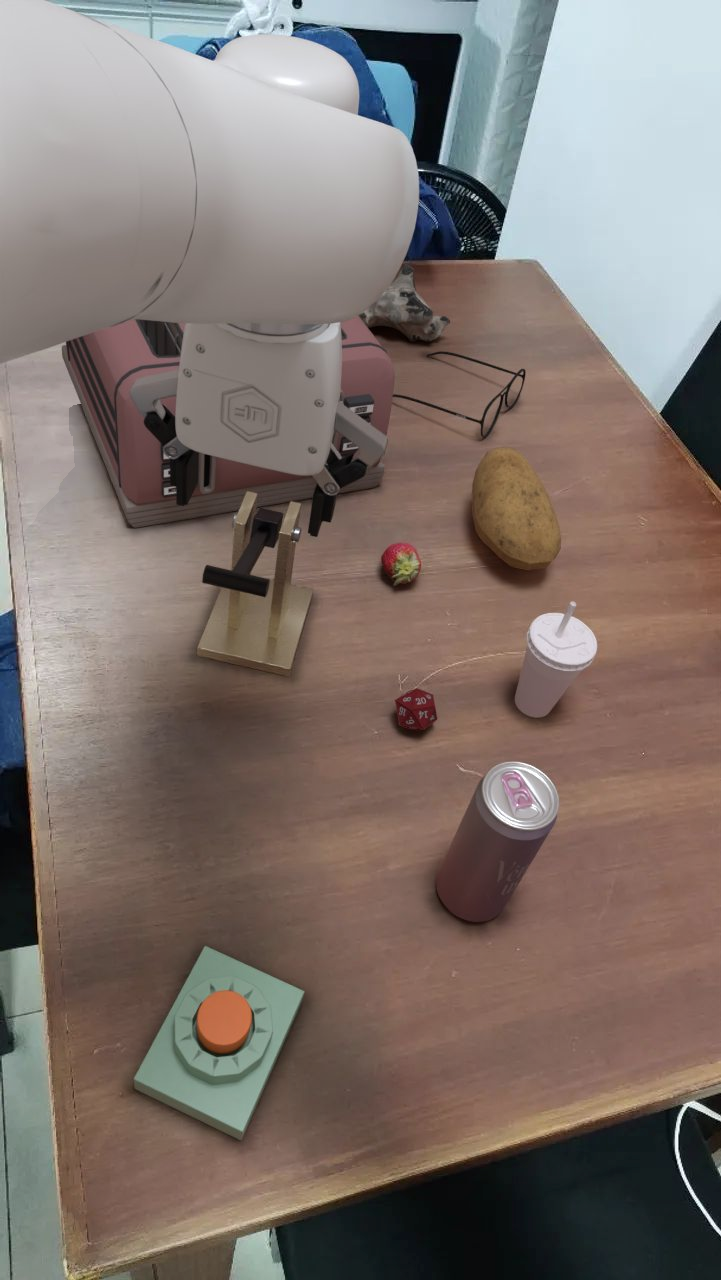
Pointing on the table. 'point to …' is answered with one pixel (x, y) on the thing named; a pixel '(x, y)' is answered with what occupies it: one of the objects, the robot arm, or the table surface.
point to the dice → (416, 710)
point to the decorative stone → (405, 310)
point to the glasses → (490, 401)
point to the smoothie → (553, 660)
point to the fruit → (401, 562)
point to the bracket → (260, 605)
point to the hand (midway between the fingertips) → (251, 509)
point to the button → (224, 1021)
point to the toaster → (134, 452)
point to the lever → (249, 557)
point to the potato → (514, 511)
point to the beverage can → (497, 840)
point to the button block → (213, 1080)
